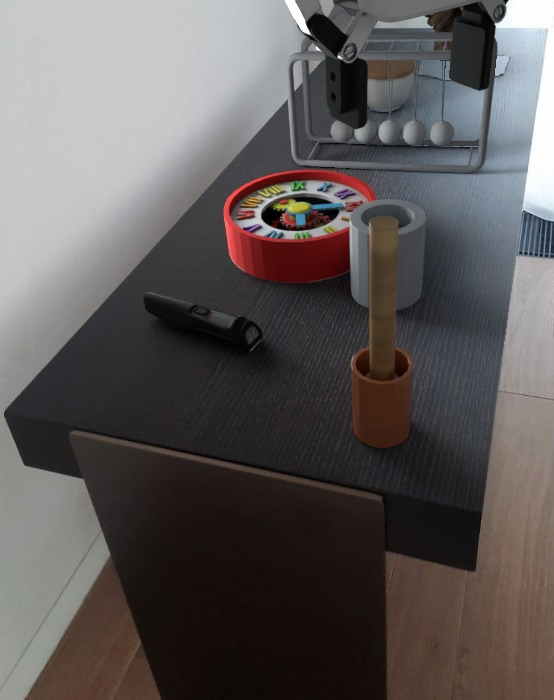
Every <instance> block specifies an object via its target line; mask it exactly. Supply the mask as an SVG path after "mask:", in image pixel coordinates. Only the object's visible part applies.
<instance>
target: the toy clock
mask: <svg viewBox="0 0 554 700" xmlns="http://www.w3.org/2000/svg"><path fill="white" fill-rule="evenodd" d="M375 200H377V195H376V193H375V191H374V190H373V188H372V187H370V185H369V184H368V183H366V182H365V181H363V180H361V179H359V178H357V177H355V176H352V175H349V174H347V173H343V172H338V171H334V170H326V169H325V170H323V169H296V170H288V171H282V172H277V173H272V174H269V175H264V176H261V177H259V178H256V179H254V180H251V181H249V182H247V183H245V184H243V185H242V186H240V187H239V188H236V190H234V191H233V192H232V194H230V195H229V196H228V198H227V199H226V201H225V202H224V205H223V219H224V227H225V233H226V240H227V247H228V253H229V257H230V259H231V261H232V262H233V263H234V265H235V266H236V267H237V268H238V269H239V270H241V271H242V272H244V273H246V274H248V275H250V276H252V277H254V278H257V279H261V280H264V281H269V282H275V283H281V284H282V283H283V284H308V283H315V282H321V281H327V280H329V279H334V278H337V277H340V276H343V275H345V274H347V273H349V272H350V225H349V219H350V214H351V213H352V211H353V210H354V209H355V208H357V207H359V206H360V205H362V204H364V203H367V202H371V201H375Z"/></svg>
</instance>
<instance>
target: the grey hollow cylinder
mask: <svg viewBox="0 0 554 700" xmlns="http://www.w3.org/2000/svg"><path fill="white" fill-rule="evenodd" d="M383 215H386V216H392V217H395V218H396V219H397V220H398V222H399V229H398V266H397V302H396V311H401V310H404V309H407V308H409V307H412V306H413V305H415V304H416V303H417V302H418V301H419V300H420V299H421V297H422V293H423V284H424V283H423V281H424V266H425V265H424V263H425V247H426V246H425V245H426V243H425V242H426V226H427V214H426V212H425V211H424V209H423V208H422V207H420V206H419V205H418V204H416V203H413V202H410V201H407V200H401V199H394V198H392V199H391V198H389V199H388V198H383V199H376V200H375V201H371V202H367V203H364V204H362V205H360V206H359V207H357V208H355V209H354V210H353V211H352V213H351V214H350V219H349V225H350V271H349V272H350V293H351V296H352V299H353V300H354V301H355V302H356V303H357V304H358V305H360V306H362V307H364V308H366V309H369V310H370V296H369V222H370V220H371V219H372V218H374V217H377V216H383Z"/></svg>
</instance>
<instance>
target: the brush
mask: <svg viewBox="0 0 554 700" xmlns="http://www.w3.org/2000/svg"><path fill="white" fill-rule="evenodd" d="M398 229H399V222H398V220H397V219H396V218H395V217H392V216H386V215H383V216H377V217H374V218H372V219H371V220H370V222H369V296H370V309H369V346H370V372H369V373H368V374H367V375H366V376H365V377H367V378H369V379H371V380H377V381H389V380H394V379H396V378H399V377H398V375H397V374H396V373H395V346H396V339H397V338H396V334H397V310H396V302H397V266H398Z"/></svg>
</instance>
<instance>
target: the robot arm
mask: <svg viewBox="0 0 554 700" xmlns="http://www.w3.org/2000/svg"><path fill="white" fill-rule="evenodd" d="M284 1H285V3H286V5H287V7H288V9H289V11H290V13H291V14H292V17H293V18H294V19H295V20H296V26H297V29H298V31H299V32H300V33H301V34H302V35H303V36H304V37H305V38H306V37H307V38H308V39H309V40H310V41H311V42H312V44H313V45H314V47H315V48H316V51H319V52H321V53H323V54H325V60H324V61H325V62H324V64H325V65H324V66H325V95H326V97H325V98H326V100H325V101H326V106H327V108H328V111H329V114H330V117H331V118H333V119H334V120H335V121H336V120H338V121H340V122H342V123H344V124H346V125H348V126H350V127H352V128H354V129H359V128H363V127H364V126H365V124H366V123H367V119H368V106H367V76H368V66H367V63H366V60H363V59H360V58H358V55H359V53H360V52H361V51H363V49H364V47H365V45H366V44H367V42H366V41H367V39H368V37H369V36H370V34H371V33H373V30H374V29H375V27H376V26H377V23H378V22H381V23H382V22H383V23H398V22H403V21H408V20H412V19H416V18H420V17H423V16H424V17H425V15H429V14H433V13H437V12H440V11H444V10H448V9H452V8H456V7H460V9H461V11H462V12H463V14H464V16H457V17H455V19H454V23H453V32H452V44H451V57H450V70H449V78H450V79H451V80H450V81H452V82H453V83H456V84H459V85H462V86H465V87H466V88H470V89H473V90H475V91H477V92H481V91H484V90H485V89H487V88H488V87H489V82H490V73H491V65H492V56H493V47H494V39H496V28H497V25H496V24H499V23H501V22H502V21H503V20H504V19H505V17H506V15H507V8H508V7H507V4H508V2H509V1H510V0H331V2H332V4H333V7H332V8H331V11H330V12H329V14H328V16H327V15H325V13H324V11H323V9H322V5H321V2H320V0H284ZM344 33H345V34H344Z"/></svg>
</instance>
